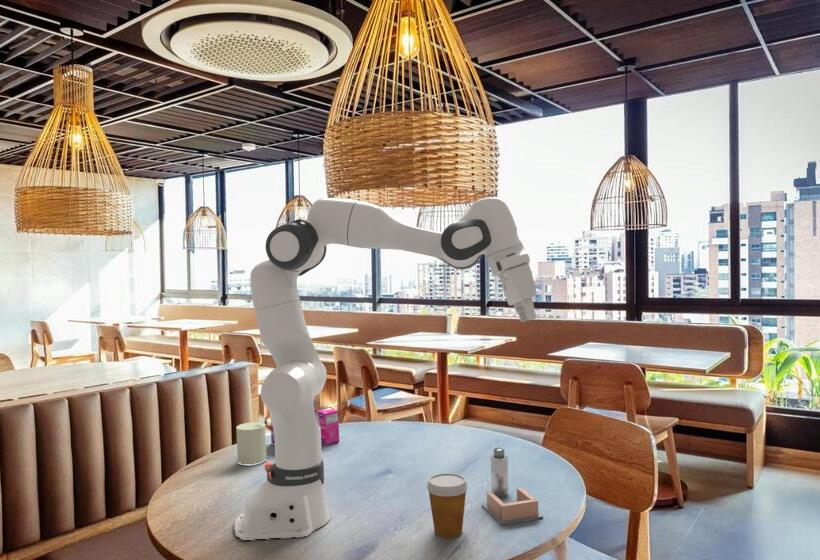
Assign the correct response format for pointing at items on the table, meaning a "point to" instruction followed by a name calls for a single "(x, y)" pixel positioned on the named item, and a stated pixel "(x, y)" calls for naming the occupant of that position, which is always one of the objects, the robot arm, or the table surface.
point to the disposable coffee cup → (447, 503)
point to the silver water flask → (499, 473)
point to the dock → (512, 508)
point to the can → (251, 442)
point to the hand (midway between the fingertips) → (528, 320)
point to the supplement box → (328, 425)
